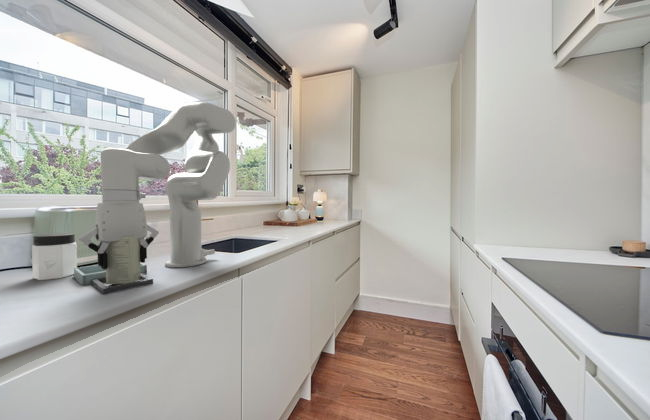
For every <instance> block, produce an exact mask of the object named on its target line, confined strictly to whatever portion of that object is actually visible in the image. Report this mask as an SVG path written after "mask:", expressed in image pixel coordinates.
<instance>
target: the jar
mask: <svg viewBox="0 0 650 420" xmlns="http://www.w3.org/2000/svg"><path fill="white" fill-rule="evenodd" d="M75 235H76V234H75V233H73V232H59V233H57V232H55V233H43V234H36V235H34V236H32V239H33V240H32V241H33V243H32V245H31V256H32V257H31V258H32V260H31V261H32V262H31V263H32V264H31V266H32V279H35V280H36V281H47V280H55V279H64V278H66V277H70V276H74V275H73V274H74V268H78V254H77V253H78V252H77V249H78V248H77V245H78V244H77V242H76V238H75V237H76V236H75Z"/></svg>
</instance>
